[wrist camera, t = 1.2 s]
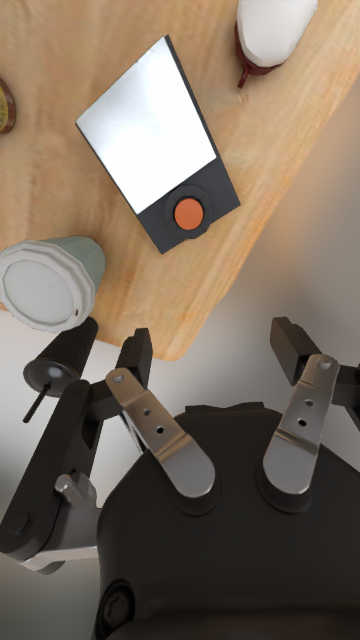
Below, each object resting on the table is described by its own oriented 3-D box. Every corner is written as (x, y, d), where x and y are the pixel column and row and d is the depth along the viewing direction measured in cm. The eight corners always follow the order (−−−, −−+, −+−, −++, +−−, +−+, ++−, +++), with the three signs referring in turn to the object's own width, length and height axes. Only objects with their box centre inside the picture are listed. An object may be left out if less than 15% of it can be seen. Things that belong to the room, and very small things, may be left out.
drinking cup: (92, 347, 47) (42, 446, 30) (58, 326, 44) (-19, 422, 27) (113, 325, 44) (70, 420, 27) (77, 301, 41) (4, 390, 24)
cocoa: (239, 107, 27) (274, 67, 17) (208, 45, 24) (227, -46, 14) (319, 27, 23) (424, -83, 13) (293, -54, 21) (398, -269, 11)
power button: (169, 208, 30) (169, 209, 29) (193, 191, 29) (194, 192, 28) (184, 232, 32) (184, 235, 30) (206, 217, 31) (207, 219, 29)
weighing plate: (76, 121, 25) (74, 120, 25) (163, 37, 22) (163, 34, 21) (137, 214, 30) (136, 214, 30) (215, 157, 27) (216, 157, 26)
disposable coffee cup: (47, 269, 38) (-22, 318, 25) (58, 204, 32) (-21, 224, 20) (109, 295, 40) (75, 351, 28) (129, 238, 35) (99, 275, 22)
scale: (79, 125, 28) (69, 121, 25) (168, 40, 24) (166, 24, 21) (163, 253, 36) (161, 259, 34) (239, 205, 32) (244, 208, 30)
